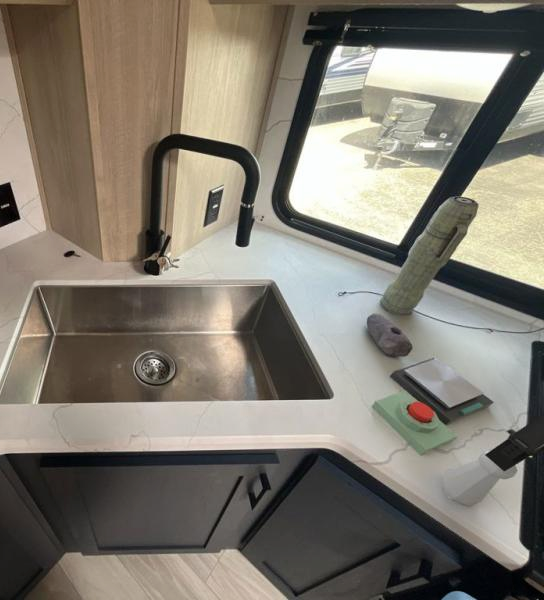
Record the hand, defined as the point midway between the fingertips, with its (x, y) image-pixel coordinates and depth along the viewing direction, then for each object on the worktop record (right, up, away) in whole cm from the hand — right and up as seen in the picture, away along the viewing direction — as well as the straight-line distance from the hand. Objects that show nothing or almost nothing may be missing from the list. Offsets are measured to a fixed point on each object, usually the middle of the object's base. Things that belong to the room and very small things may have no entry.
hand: (511, 454), depth 51 cm
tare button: (0, 0, +18) cm, 18 cm away
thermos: (+22, +22, +51) cm, 60 cm away
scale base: (+12, +2, +27) cm, 30 cm away
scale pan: (+12, +5, +25) cm, 29 cm away
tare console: (0, -3, +20) cm, 20 cm away
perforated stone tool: (+8, +13, +40) cm, 42 cm away
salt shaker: (0, -12, +10) cm, 15 cm away
